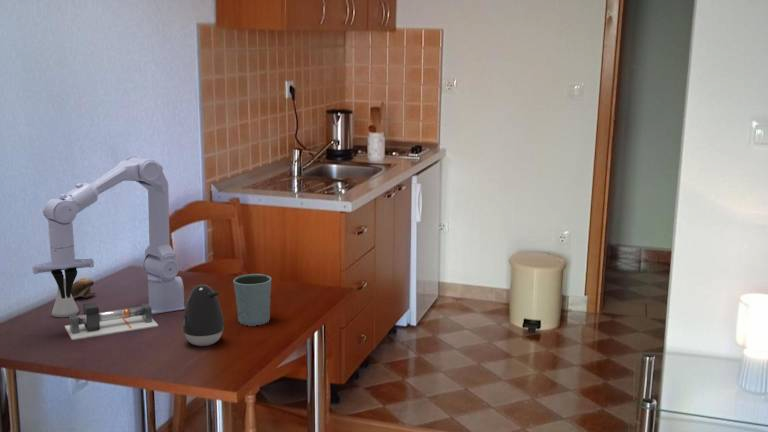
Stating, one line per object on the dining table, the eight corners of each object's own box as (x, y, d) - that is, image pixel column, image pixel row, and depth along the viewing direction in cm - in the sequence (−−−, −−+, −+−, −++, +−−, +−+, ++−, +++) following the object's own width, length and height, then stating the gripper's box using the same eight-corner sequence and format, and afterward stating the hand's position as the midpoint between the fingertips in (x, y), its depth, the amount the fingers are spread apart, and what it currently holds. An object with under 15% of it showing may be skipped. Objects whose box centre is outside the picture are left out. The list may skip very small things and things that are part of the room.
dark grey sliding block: (96, 323, 223) (94, 302, 221) (99, 329, 218) (98, 307, 217) (84, 325, 221) (82, 304, 220) (88, 330, 217) (86, 309, 216)
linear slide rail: (148, 318, 229) (147, 303, 228) (152, 323, 225) (151, 307, 224) (70, 330, 219) (68, 314, 218) (73, 335, 215) (71, 319, 215)
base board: (147, 314, 232) (147, 313, 232) (158, 326, 223) (158, 324, 223) (64, 327, 222) (64, 325, 222) (72, 340, 212) (71, 338, 212)
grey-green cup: (279, 320, 229) (278, 278, 226) (250, 329, 221) (249, 286, 219) (256, 312, 235) (255, 271, 233) (227, 321, 228) (225, 278, 226)
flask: (69, 319, 228) (67, 284, 226) (45, 317, 230) (43, 282, 228) (84, 311, 235) (82, 277, 233) (61, 309, 237) (58, 275, 235)
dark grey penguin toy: (205, 352, 205) (203, 293, 202) (174, 344, 210) (172, 286, 207) (233, 340, 213) (231, 283, 210) (203, 333, 218) (201, 277, 215)
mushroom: (104, 286, 248) (90, 270, 247) (84, 302, 242) (70, 285, 241) (94, 293, 253) (80, 277, 252) (74, 309, 248) (60, 293, 247)
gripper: (88, 239, 219) (91, 289, 222) (29, 245, 212) (33, 296, 215) (94, 245, 213) (97, 296, 216) (33, 251, 206) (37, 304, 209)
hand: (65, 297), depth 215 cm, fingers closed
